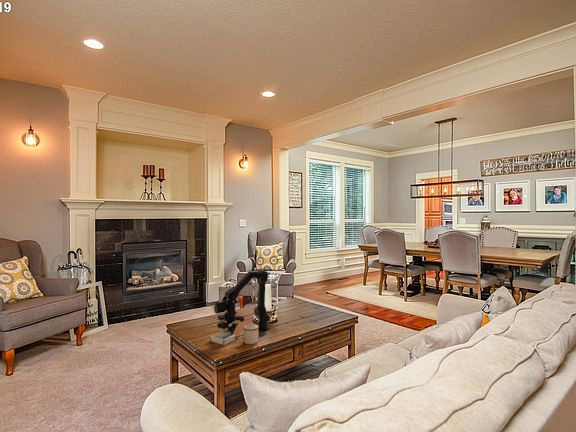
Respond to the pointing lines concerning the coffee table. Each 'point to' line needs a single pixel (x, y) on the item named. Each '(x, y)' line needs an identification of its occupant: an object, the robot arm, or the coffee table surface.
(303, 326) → the coffee table surface
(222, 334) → the cabinet
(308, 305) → the coffee table surface
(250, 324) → the white printed mug
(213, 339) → the cream flat base plank
